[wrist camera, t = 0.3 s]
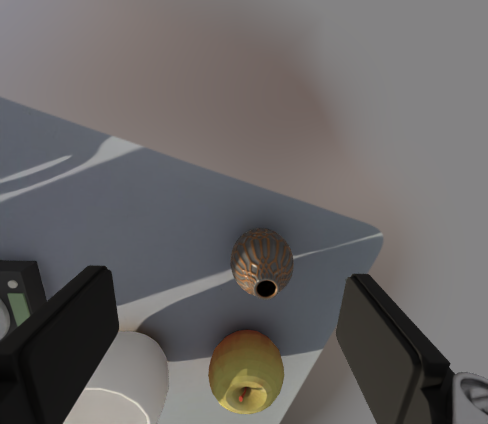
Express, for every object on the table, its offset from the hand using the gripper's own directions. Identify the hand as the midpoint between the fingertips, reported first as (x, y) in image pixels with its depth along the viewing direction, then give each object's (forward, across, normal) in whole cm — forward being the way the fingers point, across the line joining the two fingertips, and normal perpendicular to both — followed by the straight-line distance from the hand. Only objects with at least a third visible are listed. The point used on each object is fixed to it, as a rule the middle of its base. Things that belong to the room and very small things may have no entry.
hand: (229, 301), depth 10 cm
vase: (+20, -3, +7) cm, 21 cm away
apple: (+20, -2, +23) cm, 30 cm away
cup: (+20, +14, +24) cm, 34 cm away
